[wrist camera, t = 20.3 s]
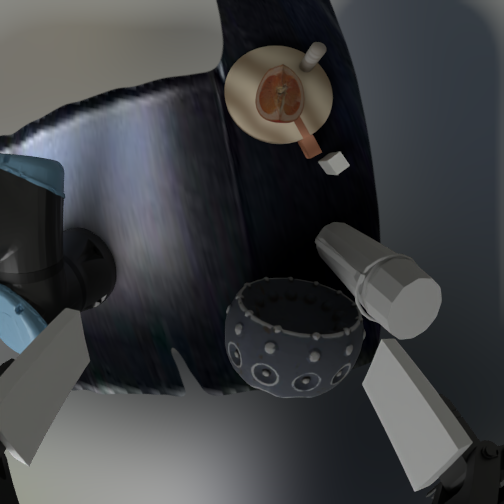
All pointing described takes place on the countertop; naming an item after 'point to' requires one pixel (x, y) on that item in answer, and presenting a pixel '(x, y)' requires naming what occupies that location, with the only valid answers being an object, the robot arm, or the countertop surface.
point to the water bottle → (381, 280)
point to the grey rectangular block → (334, 163)
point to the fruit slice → (280, 95)
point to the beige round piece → (315, 95)
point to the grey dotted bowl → (292, 336)
